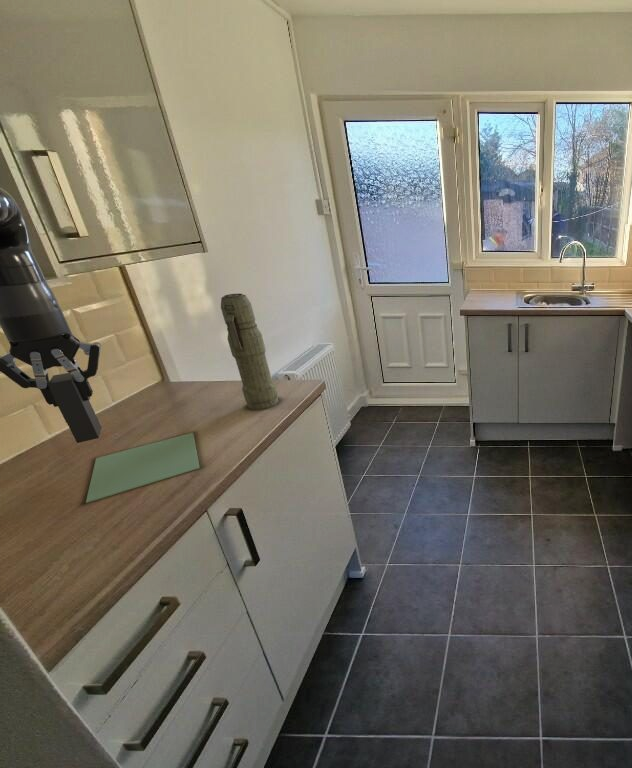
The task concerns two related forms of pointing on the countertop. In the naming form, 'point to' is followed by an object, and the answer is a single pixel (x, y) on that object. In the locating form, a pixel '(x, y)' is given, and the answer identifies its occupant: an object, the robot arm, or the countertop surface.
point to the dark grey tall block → (74, 408)
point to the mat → (142, 466)
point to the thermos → (248, 352)
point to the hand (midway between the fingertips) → (72, 401)
